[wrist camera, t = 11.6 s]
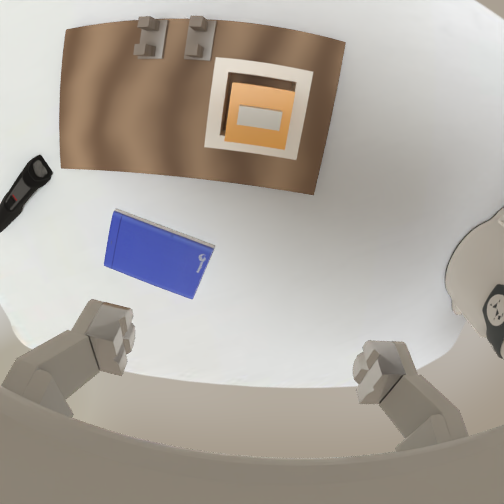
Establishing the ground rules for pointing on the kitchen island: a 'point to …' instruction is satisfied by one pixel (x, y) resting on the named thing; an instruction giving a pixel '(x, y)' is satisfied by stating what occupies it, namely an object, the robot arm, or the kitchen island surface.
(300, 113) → the end holder
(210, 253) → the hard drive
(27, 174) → the electric trimmer
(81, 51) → the board
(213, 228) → the kitchen island surface
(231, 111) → the connector plug
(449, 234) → the kitchen island surface
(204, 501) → the robot arm
